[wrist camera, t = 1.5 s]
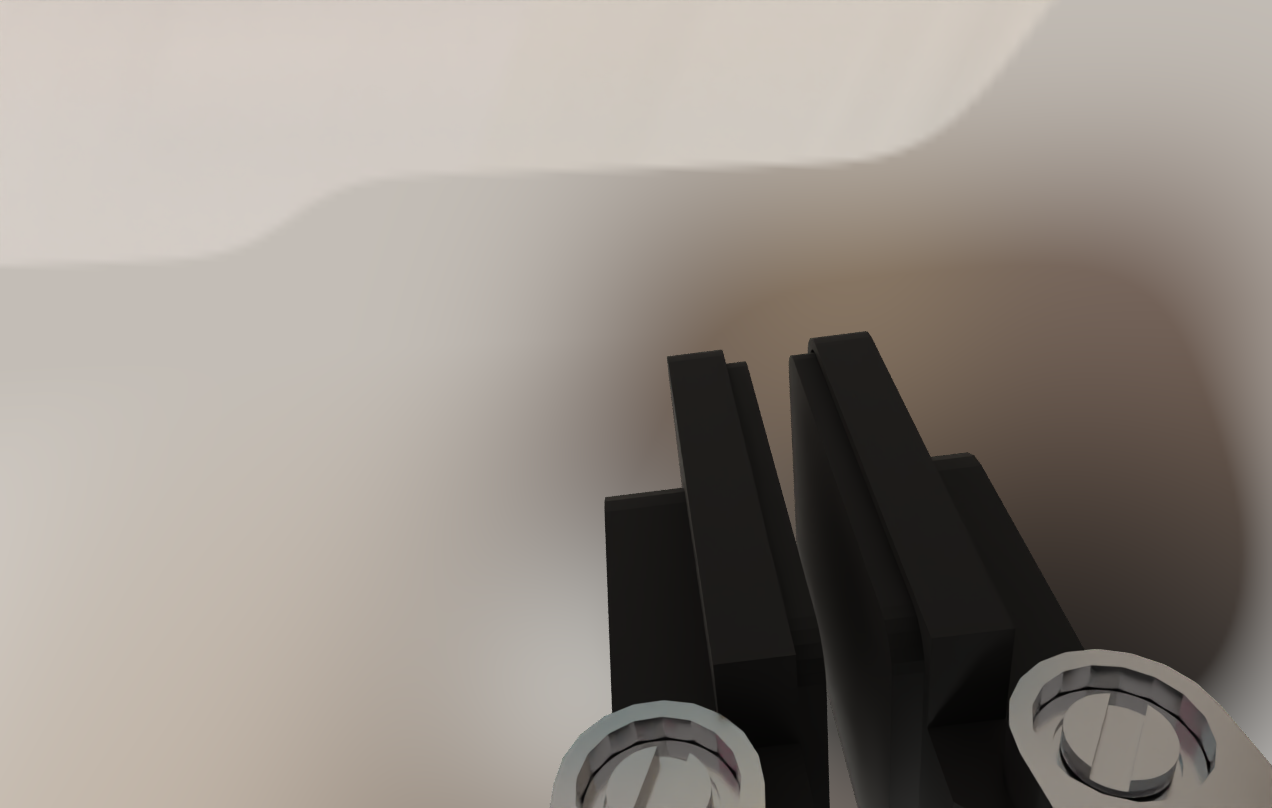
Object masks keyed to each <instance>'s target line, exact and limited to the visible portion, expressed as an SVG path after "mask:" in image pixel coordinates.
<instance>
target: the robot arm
mask: <svg viewBox="0 0 1272 808" xmlns="http://www.w3.org/2000/svg"><path fill="white" fill-rule="evenodd" d="M667 363H668V372H669V381H670V389H671V398H672V406H673V415H674V423H675V431H676V440H677V449H678V457H679V465H680V473H681V482H682V488H677V489H669V490H661V491H654V492H645V493H636V494H629V495H620V496H612V497H606V498H605V533H606V558H607V560H606V561H607V587H608V614H609V640H610V665H611V666H610V667H611V693H612V713H611V714H609V715H607V716H604V717H603V718H602V719H600V720H599V721H598V722H596V723H595V724H594V725H592V726H591V727H590V728H588V729H587V730H586V731H584V732H583V733H582V734H581V735H580V736H579V737H578V739H577V740H576V741H575V742H574V744H573V745H572V747H571V748H570V749H569V750H568V752H567V753H566V754H565V756H564V757H563V759H562V762H561V765H560V768H559V771H558V773H557V776H556V779H555V782H554V785H553V791H552V797H551V803H550V808H830V803H829V765H828V729H827V692H828V696H829V700H830V704H831V708H832V711H833V715H834V719H835V723H836V726H837V730H838V734H839V738H840V742H841V745H842V749H843V753H844V757H845V761H846V764H847V768H848V772H849V776H850V779H851V783H852V787H853V791H854V795H855V798H856V802H857V806H858V808H1272V765H1271V764H1270V763H1269V761H1268V760H1267V759H1266V758H1265V757H1264V756H1263V754H1262V753H1261V752H1260V751H1259V750H1258V749H1257V747H1256V746H1255V745H1254V744H1253V743H1252V741H1251V740H1250V739H1249V738H1248V737H1247V736H1246V734H1245V733H1244V732H1243V731H1242V730H1241V729H1240V728H1239V726H1238V725H1237V724H1236V723H1235V721H1234V720H1233V719H1232V718H1231V717H1230V716H1229V714H1228V713H1227V712H1226V711H1225V710H1224V708H1223V707H1222V706H1221V705H1220V704H1219V703H1218V702H1217V701H1216V700H1214V699H1213V698H1212V697H1211V696H1210V695H1209V694H1208V693H1207V692H1205V690H1203V689H1202V688H1201V687H1200V686H1199V685H1198V684H1197V683H1195V682H1194V681H1192V680H1191V679H1189V678H1187V677H1185V676H1184V675H1182V674H1180V673H1178V672H1177V671H1175V670H1173V669H1171V668H1170V667H1168V666H1166V665H1164V664H1161V663H1158V662H1155V661H1152V660H1149V659H1146V658H1143V657H1140V656H1137V655H1134V654H1131V653H1124V652H1115V651H1108V650H1100V649H1095V650H1084V648H1083V646H1082V645H1081V643H1080V641H1079V639H1078V637H1077V636H1076V634H1075V632H1074V630H1073V629H1072V627H1071V625H1070V623H1069V621H1068V620H1067V618H1066V616H1065V614H1064V612H1063V611H1062V609H1061V607H1060V605H1059V603H1058V602H1057V600H1056V598H1055V596H1054V594H1053V593H1052V591H1051V589H1050V587H1049V586H1048V584H1047V582H1046V580H1045V578H1044V577H1043V575H1042V573H1041V571H1040V569H1039V568H1038V566H1037V564H1036V562H1035V561H1034V559H1033V557H1032V555H1031V553H1030V551H1029V550H1028V548H1027V546H1026V544H1025V543H1024V541H1023V539H1022V537H1021V535H1020V534H1019V532H1018V530H1017V528H1016V526H1015V525H1014V523H1013V521H1012V519H1011V517H1010V516H1009V514H1008V512H1007V510H1006V508H1005V507H1004V505H1003V503H1002V501H1001V499H1000V498H999V496H998V494H997V492H996V491H995V489H994V487H993V485H992V483H991V482H990V480H989V478H988V476H987V474H986V473H985V471H984V469H983V467H982V465H981V464H980V463H979V462H978V460H977V459H976V458H975V456H974V455H972V454H970V453H959V454H951V455H943V456H935V457H930V455H929V453H928V451H927V449H926V447H925V445H924V443H923V441H922V438H921V437H920V435H919V432H918V431H917V428H916V426H915V424H914V422H913V420H912V418H911V416H910V414H909V412H908V410H907V408H906V406H905V405H904V402H903V400H902V398H901V396H900V394H899V392H898V390H897V388H896V386H895V384H894V382H893V380H892V378H891V376H890V374H889V372H888V370H887V368H886V366H885V364H884V362H883V360H882V358H881V356H880V354H879V351H878V349H877V348H876V345H875V343H874V342H873V339H872V337H871V336H870V334H869V333H868V332H866V331H865V332H856V333H849V334H841V335H833V336H825V337H818V338H810V340H809V343H808V354H800V355H792V356H790V358H789V380H790V381H789V382H790V403H791V427H792V448H793V469H794V470H793V472H794V494H795V517H796V539H797V545H796V541H795V538H794V534H793V531H792V527H791V523H790V520H789V516H788V512H787V508H786V505H785V501H784V497H783V494H782V490H781V487H780V483H779V479H778V476H777V472H776V469H775V465H774V461H773V457H772V454H771V450H770V447H769V443H768V439H767V435H766V432H765V428H764V425H763V421H762V417H761V414H760V410H759V406H758V403H757V399H756V395H755V392H754V389H753V384H752V381H751V377H750V373H749V370H748V366H747V363H746V362H737V363H729V364H726V362H725V359H724V354H723V351H722V350H714V351H707V352H699V353H691V354H683V355H675V356H668V357H667ZM826 689H827V692H826Z"/></svg>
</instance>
